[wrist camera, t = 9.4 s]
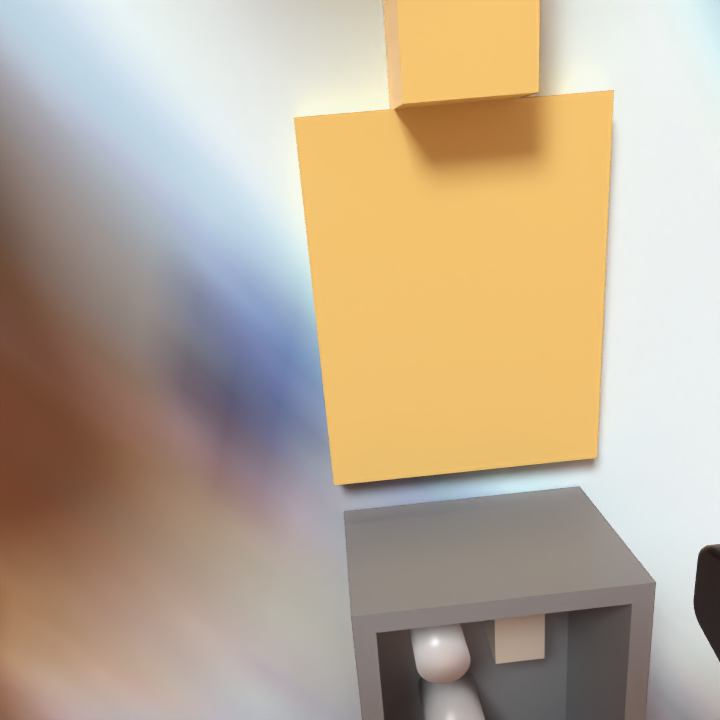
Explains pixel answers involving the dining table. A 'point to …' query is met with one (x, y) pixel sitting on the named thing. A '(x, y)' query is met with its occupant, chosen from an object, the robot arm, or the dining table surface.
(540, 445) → the lid
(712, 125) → the dining table surface
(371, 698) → the tub
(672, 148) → the dining table surface
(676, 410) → the dining table surface
